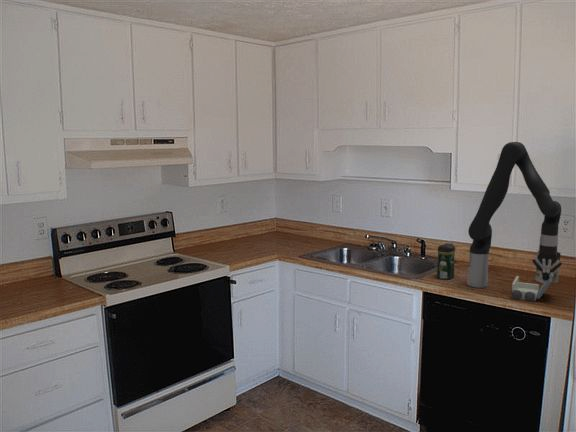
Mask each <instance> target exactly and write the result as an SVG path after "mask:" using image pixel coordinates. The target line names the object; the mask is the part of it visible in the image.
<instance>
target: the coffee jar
mask: <svg viewBox="0 0 576 432" xmlns="http://www.w3.org/2000/svg"><path fill="white" fill-rule="evenodd" d="M455 247H456V246H455V245H454V244H453V243H444V244H440V245H438V246H437V255H438V256H437V270H436V277H437V278H438V279H440V280H451V279H453V278H454V277H455V255H456V248H455Z"/></svg>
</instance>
